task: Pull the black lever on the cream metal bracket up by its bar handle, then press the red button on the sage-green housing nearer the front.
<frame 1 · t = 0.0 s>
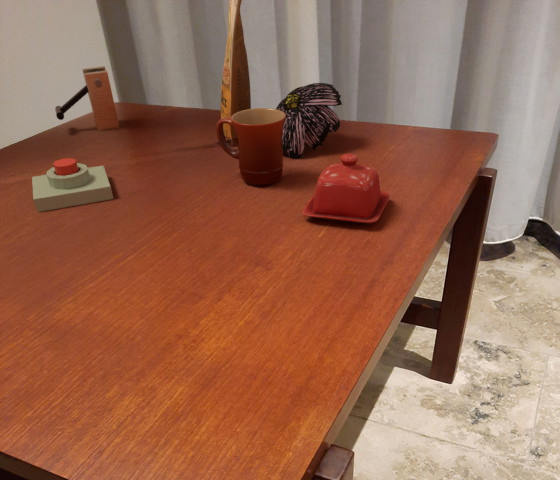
decorative flower: (303, 147, 106), on the table
lever: (79, 95, 111), point 8 cm above the table, hinge at -30.0°
button housing: (73, 194, 93), on the table
mug: (253, 179, 95), on the table
bracket: (108, 132, 117), on the table
button: (66, 167, 90), point 4 cm above the table, slide at 0.1 cm
butter dish: (346, 212, 84), on the table
pancake mix bag: (240, 133, 114), on the table
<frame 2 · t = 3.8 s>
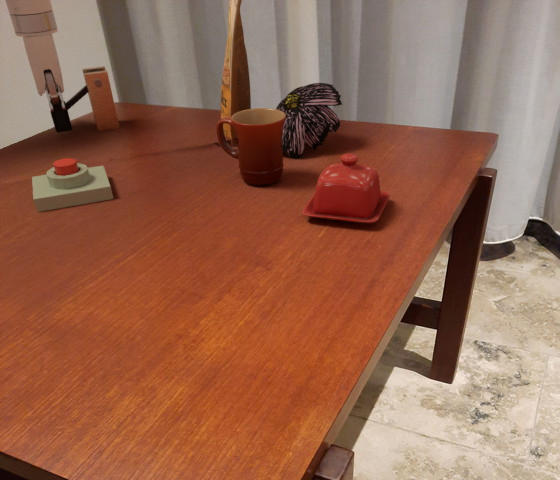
hand: (63, 126, 113), 2 cm above the table, tool pointing down, fingers closed on lever, 5 cm apart
lever: (79, 95, 111), point 8 cm above the table, hinge at -30.0°, touching gripper
everything else where it was.
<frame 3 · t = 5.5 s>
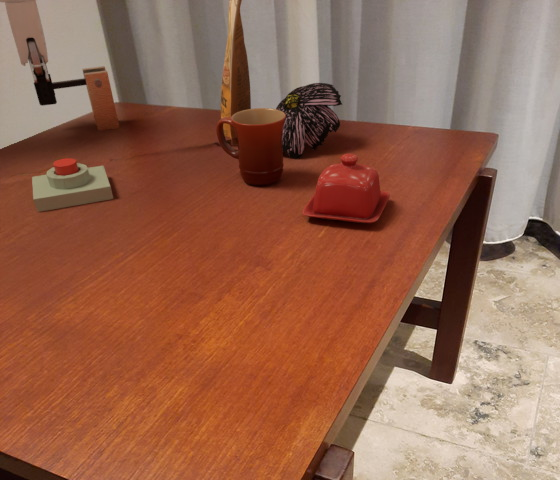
hand: (47, 99, 110), 8 cm above the table, tool pointing down, fingers closed on lever, 5 cm apart
lever: (73, 83, 109), point 10 cm above the table, hinge at -0.4°, touching gripper
everything else where it was.
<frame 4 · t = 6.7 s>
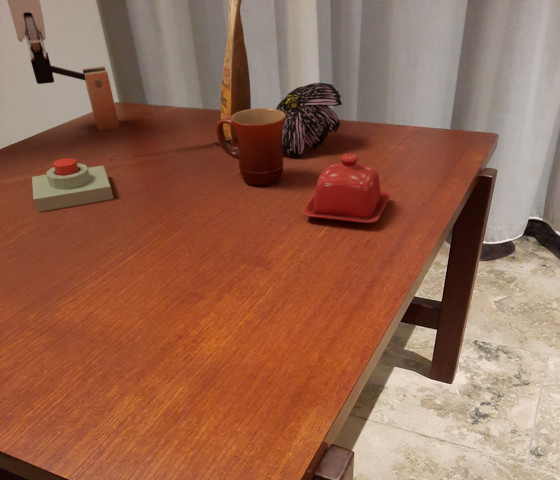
hand: (45, 78, 107), 11 cm above the table, tool pointing down, fingers closed on lever, 5 cm apart
lever: (72, 74, 108), point 12 cm above the table, hinge at 20.0°, touching gripper
everything else where it was.
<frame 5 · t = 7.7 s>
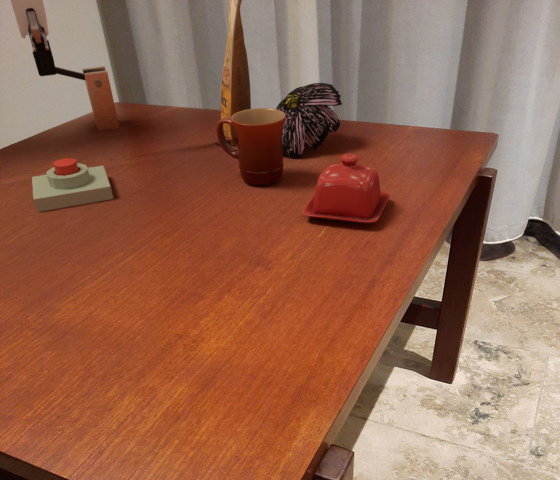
hand: (47, 69, 106), 13 cm above the table, tool pointing down, fingers open, 9 cm apart
lever: (72, 74, 108), point 12 cm above the table, hinge at 19.8°
everything else where it was.
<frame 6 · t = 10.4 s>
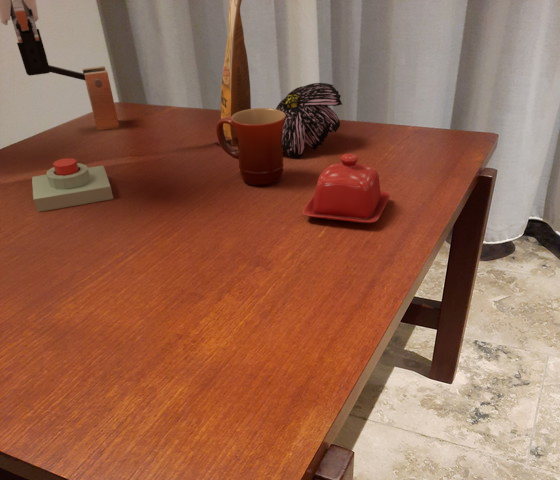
hand: (37, 66, 81), 19 cm above the table, tool pointing down, fingers open, 9 cm apart
nothing on the table moved.
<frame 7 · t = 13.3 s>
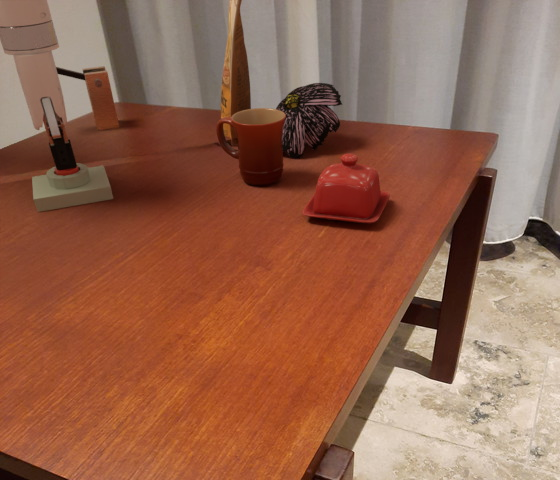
hand: (66, 167, 90), 5 cm above the table, tool pointing down, fingers closed
button: (67, 172, 91), point 4 cm above the table, slide at -0.8 cm, touching gripper
everything else where it was.
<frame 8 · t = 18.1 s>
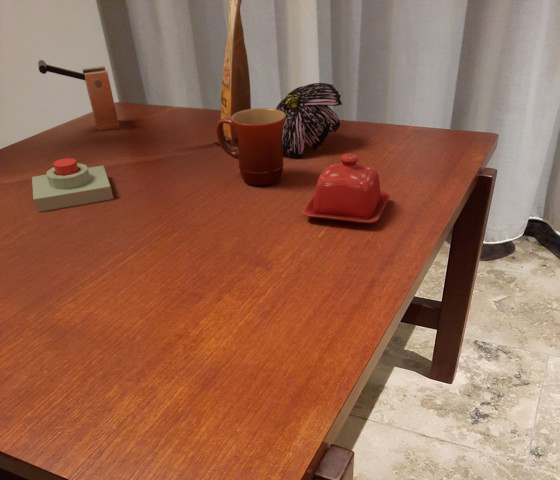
button: (66, 167, 90), point 4 cm above the table, slide at 0.1 cm
everything else where it was.
at the end: lever at +20° (first picture: -30°); button pushed in 1.1 cm at the most during the clip, back to where it started at the end; button slide at 0.1 cm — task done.
